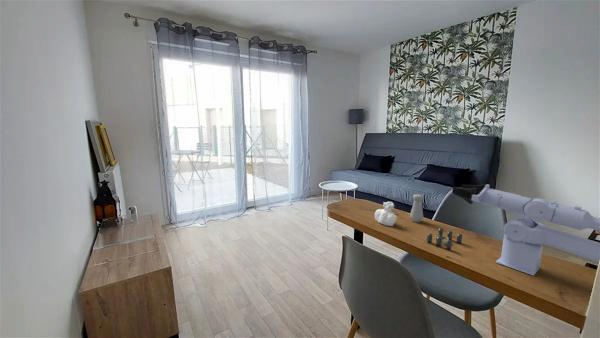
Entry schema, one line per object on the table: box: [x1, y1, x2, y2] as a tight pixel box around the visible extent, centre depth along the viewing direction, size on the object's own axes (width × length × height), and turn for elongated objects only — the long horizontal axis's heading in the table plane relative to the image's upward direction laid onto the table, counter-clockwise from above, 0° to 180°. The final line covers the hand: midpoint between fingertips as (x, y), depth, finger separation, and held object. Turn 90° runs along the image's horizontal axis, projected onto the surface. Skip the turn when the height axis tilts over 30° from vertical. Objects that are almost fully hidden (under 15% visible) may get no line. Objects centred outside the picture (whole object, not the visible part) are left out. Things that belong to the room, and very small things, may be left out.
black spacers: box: [426, 227, 463, 252], centre depth 97 cm, size 9×11×4 cm
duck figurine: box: [374, 201, 398, 227], centre depth 117 cm, size 12×8×11 cm
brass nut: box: [434, 234, 449, 246], centre depth 98 cm, size 5×4×2 cm
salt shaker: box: [409, 194, 424, 223], centre depth 120 cm, size 6×6×13 cm
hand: (457, 188), depth 94 cm, fingers open, 7 cm apart
